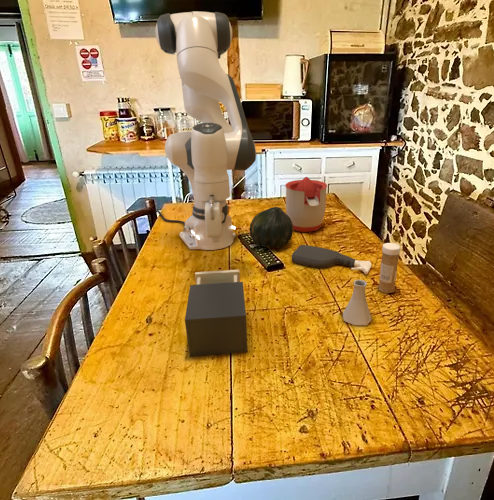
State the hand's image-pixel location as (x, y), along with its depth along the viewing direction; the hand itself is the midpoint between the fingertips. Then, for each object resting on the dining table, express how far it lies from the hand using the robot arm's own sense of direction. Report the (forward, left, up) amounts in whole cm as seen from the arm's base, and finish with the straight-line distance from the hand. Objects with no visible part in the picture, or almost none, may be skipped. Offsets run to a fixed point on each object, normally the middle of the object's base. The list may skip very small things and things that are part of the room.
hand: (216, 240), depth 106 cm
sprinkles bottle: (+30, +36, -15) cm, 49 cm away
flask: (+34, +19, -15) cm, 42 cm away
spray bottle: (+9, +36, -15) cm, 40 cm away
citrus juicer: (-19, +51, -15) cm, 56 cm away
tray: (+9, -6, -14) cm, 17 cm away
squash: (-15, +31, -15) cm, 37 cm away
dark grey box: (+18, -11, -15) cm, 26 cm away
